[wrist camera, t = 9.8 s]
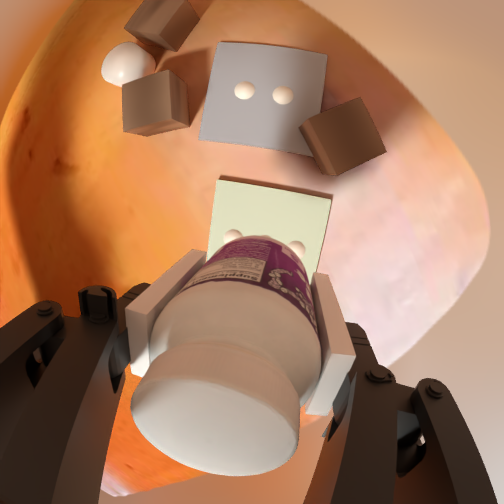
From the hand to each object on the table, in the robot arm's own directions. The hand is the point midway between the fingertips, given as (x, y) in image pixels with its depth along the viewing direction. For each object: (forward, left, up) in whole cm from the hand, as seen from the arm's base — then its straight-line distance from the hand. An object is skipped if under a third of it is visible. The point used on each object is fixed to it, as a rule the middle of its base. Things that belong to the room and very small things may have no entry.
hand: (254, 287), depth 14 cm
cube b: (-10, +18, -7) cm, 21 cm away
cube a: (-10, +10, -9) cm, 17 cm away
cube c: (+4, +9, -9) cm, 13 cm away
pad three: (0, 0, -9) cm, 9 cm away
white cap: (-14, +14, -9) cm, 22 cm away
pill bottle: (0, 0, -1) cm, 1 cm away
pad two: (-2, +12, -9) cm, 15 cm away
